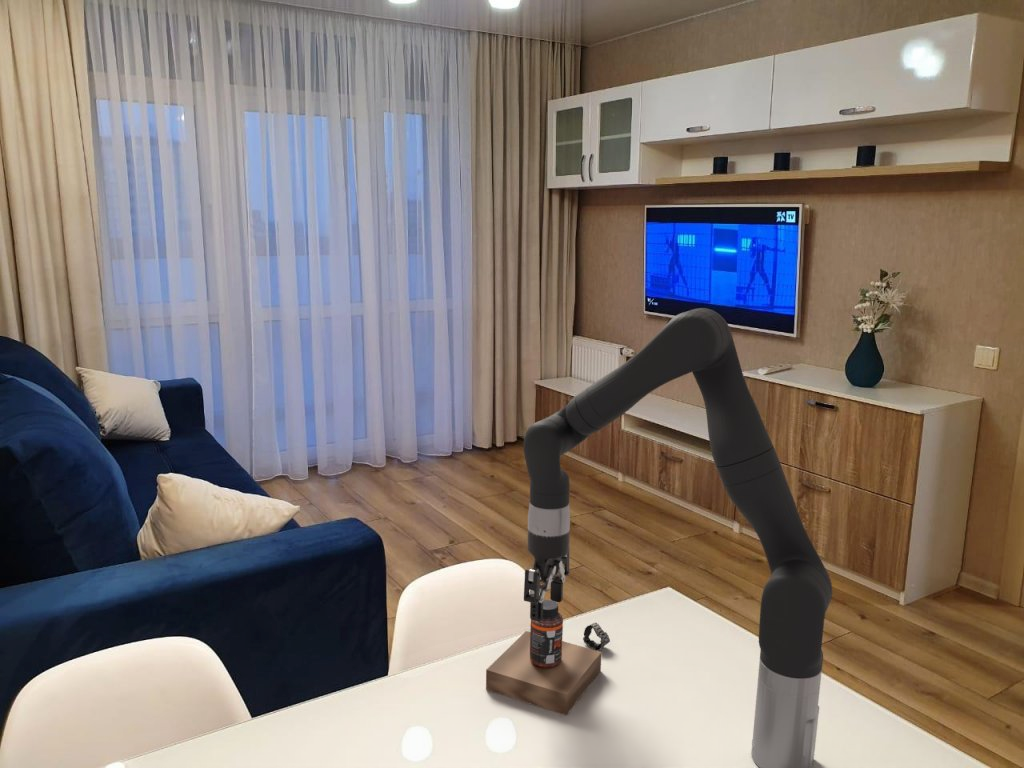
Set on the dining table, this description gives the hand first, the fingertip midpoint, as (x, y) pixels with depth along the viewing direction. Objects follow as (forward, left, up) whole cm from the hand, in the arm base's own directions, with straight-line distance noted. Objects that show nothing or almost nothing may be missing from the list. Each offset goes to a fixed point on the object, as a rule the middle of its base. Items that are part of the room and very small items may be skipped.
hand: (546, 610), depth 150 cm
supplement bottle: (0, 0, -10) cm, 10 cm away
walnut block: (0, 0, -14) cm, 14 cm away
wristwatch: (-4, -16, -15) cm, 22 cm away
